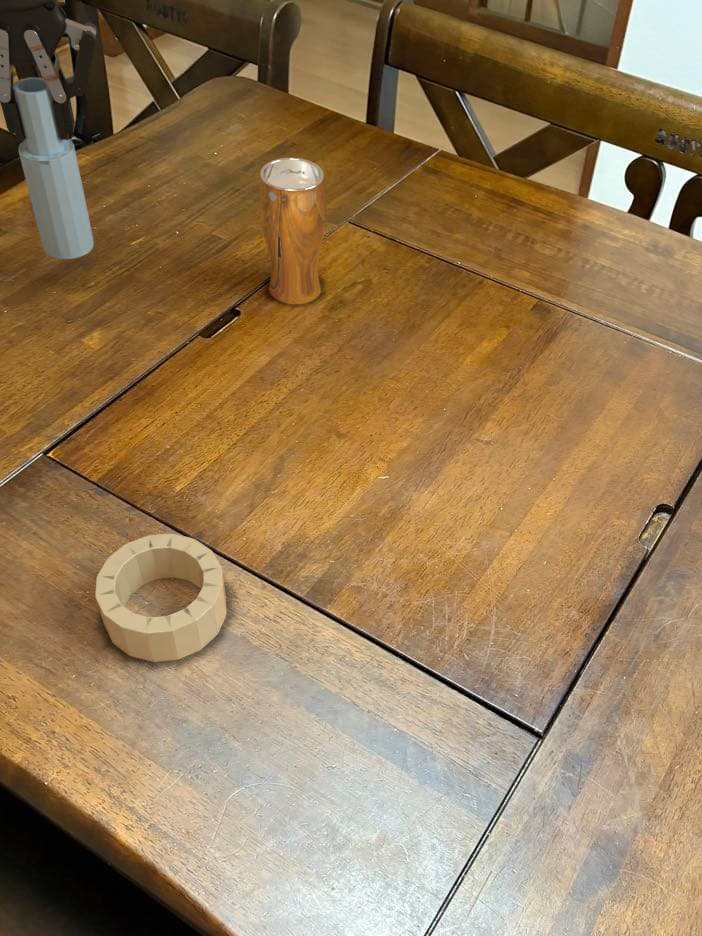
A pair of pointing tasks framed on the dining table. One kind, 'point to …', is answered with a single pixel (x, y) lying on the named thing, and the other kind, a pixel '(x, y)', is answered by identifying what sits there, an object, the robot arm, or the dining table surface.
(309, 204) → the beer glass
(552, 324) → the dining table surface
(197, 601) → the ring
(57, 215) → the bottle
